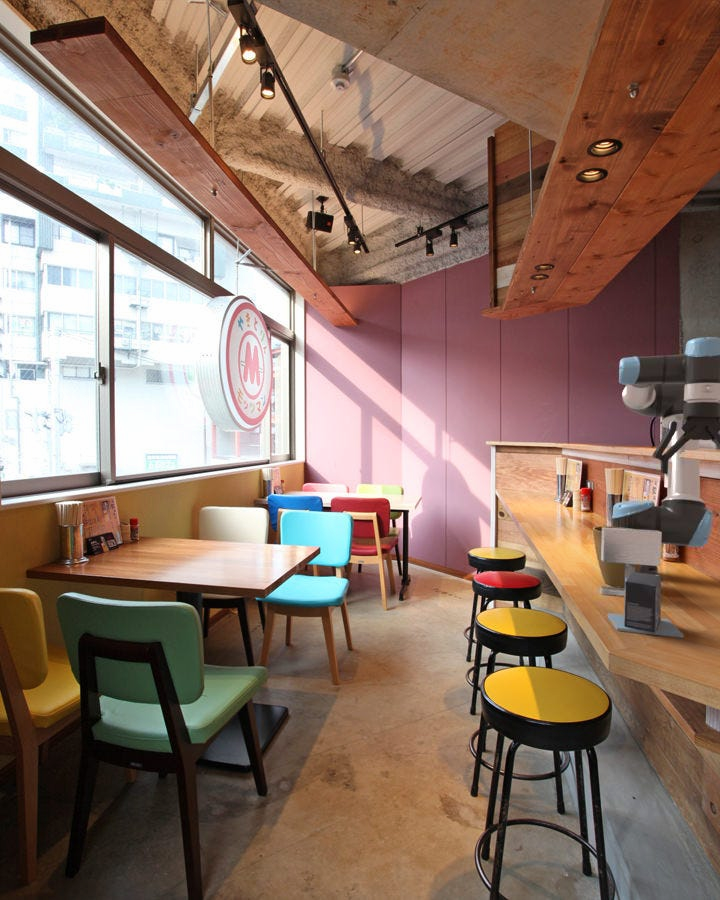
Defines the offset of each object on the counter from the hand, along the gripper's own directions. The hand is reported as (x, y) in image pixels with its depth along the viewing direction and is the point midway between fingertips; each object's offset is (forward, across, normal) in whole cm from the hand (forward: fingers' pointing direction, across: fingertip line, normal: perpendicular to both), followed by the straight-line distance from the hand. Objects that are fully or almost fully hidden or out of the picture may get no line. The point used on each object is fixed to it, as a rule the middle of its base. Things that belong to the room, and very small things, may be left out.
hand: (698, 488), depth 122 cm
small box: (+30, -15, -14) cm, 37 cm away
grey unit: (+31, -12, +11) cm, 35 cm away
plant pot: (+31, -12, +22) cm, 40 cm away
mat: (+31, -15, -14) cm, 37 cm away
